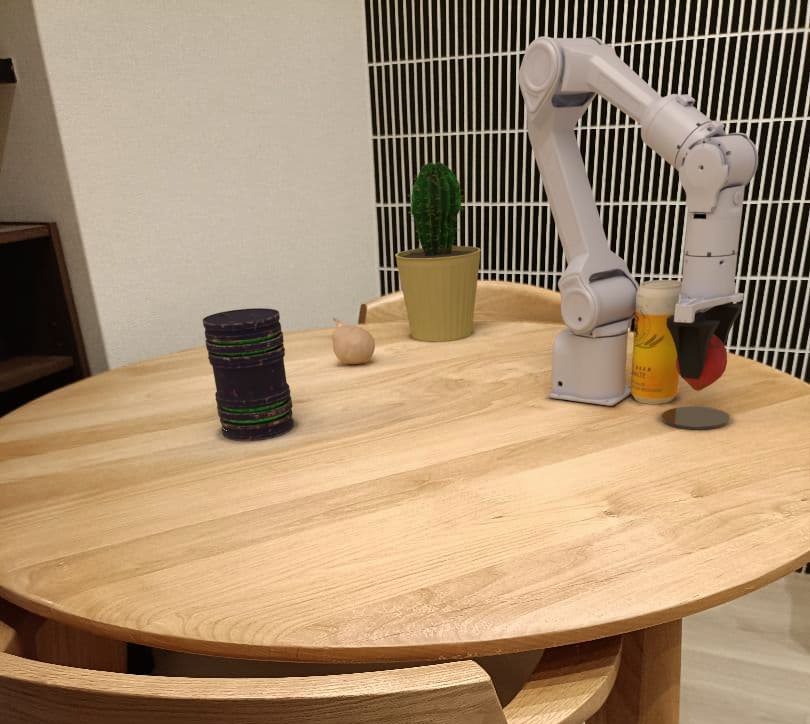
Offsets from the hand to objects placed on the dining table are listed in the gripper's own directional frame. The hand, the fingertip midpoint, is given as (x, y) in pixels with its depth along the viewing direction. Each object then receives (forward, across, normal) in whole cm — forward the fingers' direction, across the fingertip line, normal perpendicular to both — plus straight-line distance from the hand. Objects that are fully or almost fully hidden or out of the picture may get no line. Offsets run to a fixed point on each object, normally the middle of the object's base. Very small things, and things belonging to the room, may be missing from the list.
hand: (699, 371), depth 99 cm
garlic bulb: (+6, +4, +59) cm, 59 cm away
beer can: (+6, +6, +8) cm, 12 cm away
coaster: (+6, 0, 0) cm, 6 cm away
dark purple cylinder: (+6, -28, +49) cm, 57 cm away
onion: (+3, 0, 0) cm, 3 cm away
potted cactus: (+6, +27, +58) cm, 64 cm away
